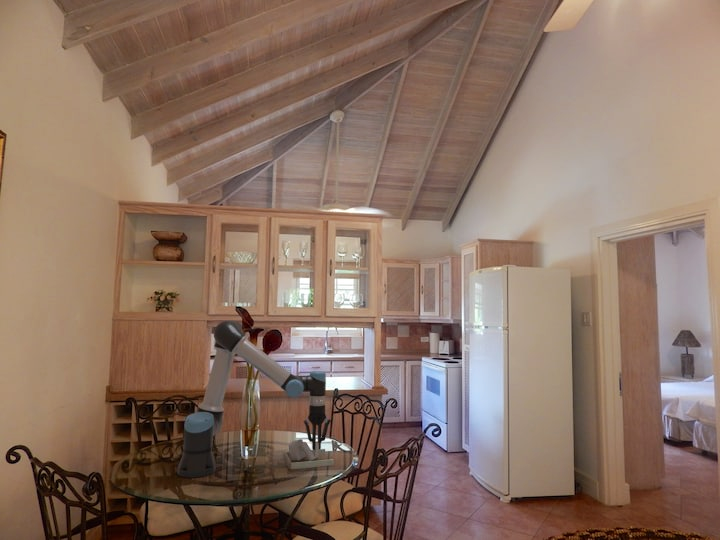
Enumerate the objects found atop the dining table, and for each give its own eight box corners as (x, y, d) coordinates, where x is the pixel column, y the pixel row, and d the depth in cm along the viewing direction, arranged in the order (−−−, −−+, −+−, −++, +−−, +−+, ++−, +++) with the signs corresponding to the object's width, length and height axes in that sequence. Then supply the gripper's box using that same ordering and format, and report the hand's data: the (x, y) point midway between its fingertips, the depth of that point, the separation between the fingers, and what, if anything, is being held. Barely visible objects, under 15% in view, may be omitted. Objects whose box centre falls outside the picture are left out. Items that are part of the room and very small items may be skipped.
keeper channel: (289, 469, 189) (289, 462, 190) (283, 457, 206) (283, 450, 206) (333, 465, 195) (334, 458, 196) (324, 454, 212) (324, 447, 212)
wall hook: (311, 463, 196) (307, 440, 198) (291, 466, 199) (287, 443, 201) (319, 458, 204) (315, 436, 206) (299, 461, 207) (296, 439, 209)
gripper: (305, 406, 200) (303, 460, 198) (332, 405, 204) (331, 458, 202) (302, 403, 207) (300, 455, 205) (328, 402, 211) (328, 453, 209)
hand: (316, 456), depth 203 cm, fingers closed
